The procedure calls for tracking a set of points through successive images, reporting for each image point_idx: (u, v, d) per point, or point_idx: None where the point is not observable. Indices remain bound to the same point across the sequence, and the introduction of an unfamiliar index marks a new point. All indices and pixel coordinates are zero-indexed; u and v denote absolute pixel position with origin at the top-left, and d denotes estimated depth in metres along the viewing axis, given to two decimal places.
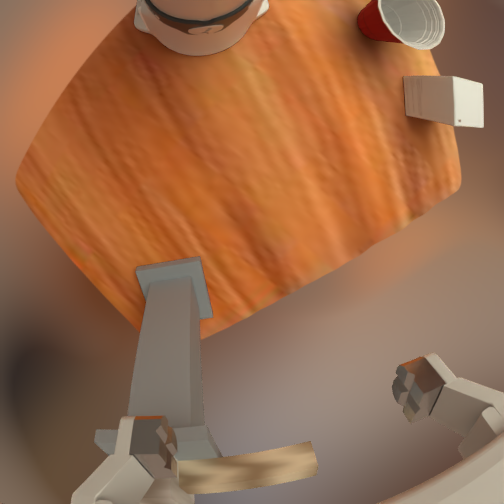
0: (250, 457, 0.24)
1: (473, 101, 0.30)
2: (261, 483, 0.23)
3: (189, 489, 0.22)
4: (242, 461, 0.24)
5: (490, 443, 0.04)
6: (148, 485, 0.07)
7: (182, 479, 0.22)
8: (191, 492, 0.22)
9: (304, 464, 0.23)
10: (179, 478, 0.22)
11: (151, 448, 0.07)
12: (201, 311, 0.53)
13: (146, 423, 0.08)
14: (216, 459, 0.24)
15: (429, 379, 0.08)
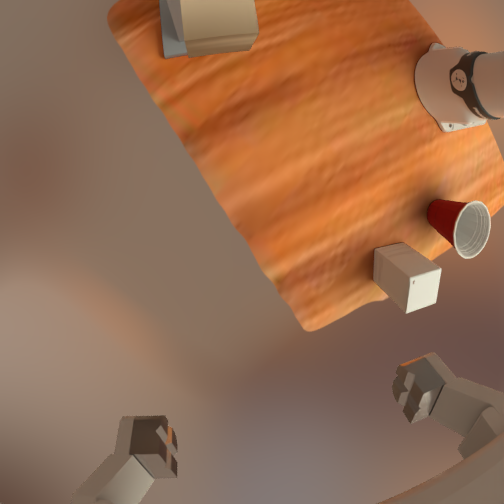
0: None
1: (425, 294, 0.45)
2: None
3: None
4: None
5: (490, 443, 0.04)
6: (148, 485, 0.07)
7: None
8: None
9: None
10: None
11: (151, 448, 0.07)
12: (174, 44, 0.36)
13: (145, 423, 0.08)
14: None
15: (430, 379, 0.08)
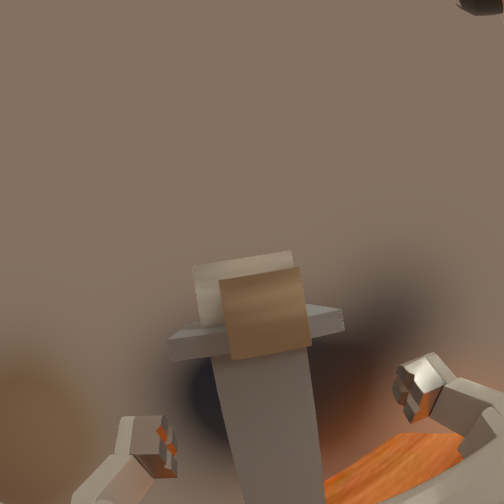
0: None
1: None
2: None
3: None
4: None
5: (490, 443, 0.04)
6: (148, 485, 0.07)
7: None
8: None
9: None
10: None
11: (151, 448, 0.07)
12: None
13: (146, 423, 0.08)
14: None
15: (430, 379, 0.08)
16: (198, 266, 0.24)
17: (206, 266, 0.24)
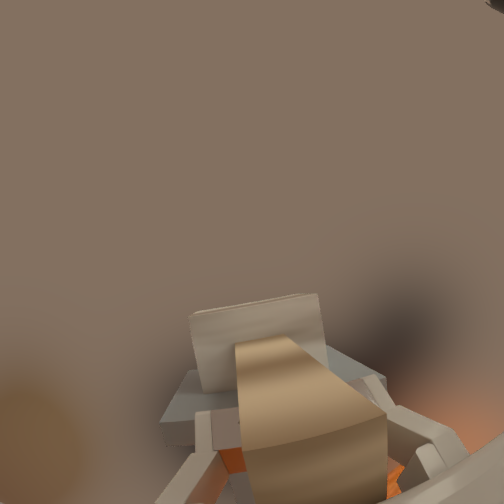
0: None
1: None
2: (272, 371, 0.10)
3: (267, 339, 0.17)
4: None
5: (490, 443, 0.04)
6: (224, 482, 0.07)
7: None
8: (246, 342, 0.17)
9: None
10: None
11: (237, 441, 0.07)
12: None
13: (223, 416, 0.08)
14: None
15: None
16: (196, 317, 0.18)
17: (207, 317, 0.18)
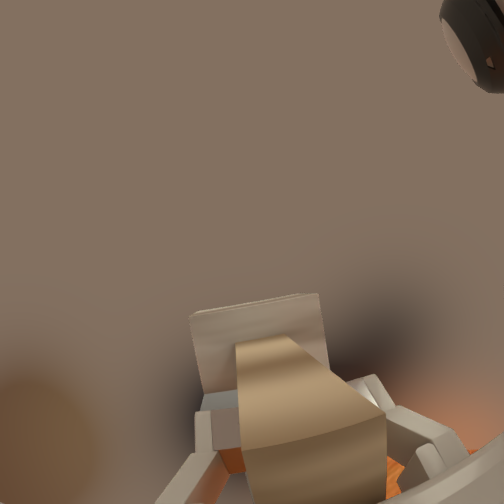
0: None
1: None
2: (272, 370, 0.10)
3: (267, 338, 0.17)
4: None
5: (490, 443, 0.04)
6: (224, 482, 0.07)
7: None
8: (246, 342, 0.17)
9: None
10: None
11: (237, 441, 0.07)
12: None
13: (223, 416, 0.08)
14: None
15: None
16: (197, 316, 0.18)
17: (207, 317, 0.18)
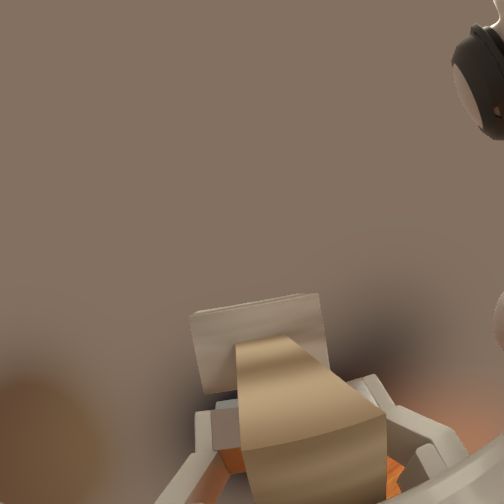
0: None
1: None
2: (272, 371, 0.10)
3: (267, 338, 0.17)
4: None
5: (490, 443, 0.04)
6: (224, 482, 0.07)
7: None
8: (247, 342, 0.17)
9: None
10: None
11: (237, 441, 0.07)
12: None
13: (223, 416, 0.08)
14: None
15: None
16: (197, 316, 0.18)
17: (207, 317, 0.18)
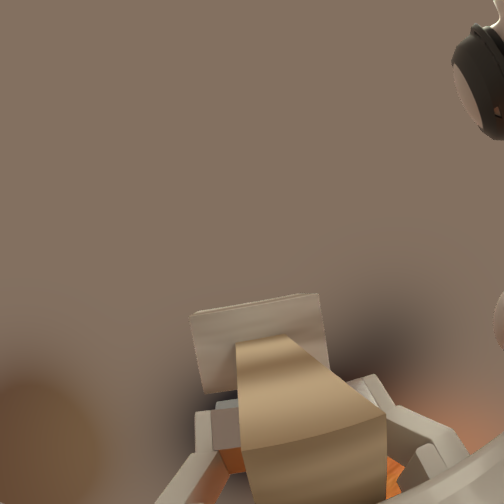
0: None
1: None
2: (272, 371, 0.10)
3: (267, 338, 0.17)
4: None
5: (490, 443, 0.04)
6: (224, 482, 0.07)
7: None
8: (247, 342, 0.17)
9: None
10: None
11: (237, 441, 0.07)
12: None
13: (223, 416, 0.08)
14: None
15: None
16: (197, 316, 0.18)
17: (207, 316, 0.18)
